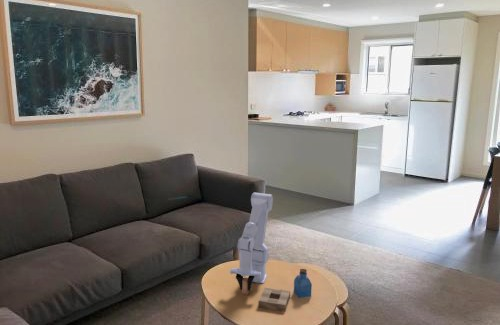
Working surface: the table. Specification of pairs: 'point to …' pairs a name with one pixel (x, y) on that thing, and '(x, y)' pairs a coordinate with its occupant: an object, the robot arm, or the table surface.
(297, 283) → the perfume bottle
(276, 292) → the socket
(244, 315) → the table surface
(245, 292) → the peg
